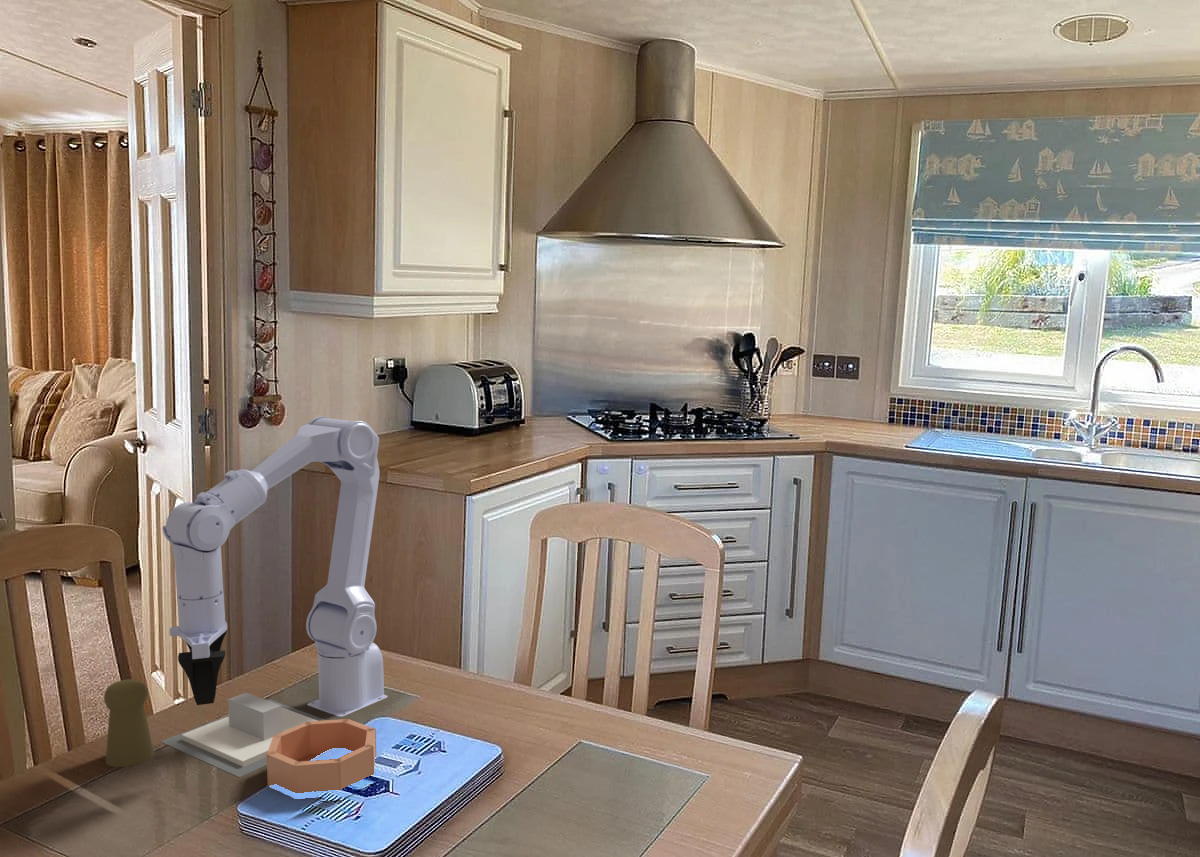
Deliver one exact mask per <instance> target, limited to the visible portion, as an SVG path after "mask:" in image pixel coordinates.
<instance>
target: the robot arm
mask: <svg viewBox="0 0 1200 857" xmlns="http://www.w3.org/2000/svg"><path fill="white" fill-rule="evenodd" d="M379 445H380V437H379V436H378V434H377V433H376V432H375V431H374V429H373V428H372V427H371V425H370V424H369V423H368V422H366V421H363V420H346V419H338V418H329V417H327V416H317V417H314V418H313V419H311V420H310V421H309V422H308V423H306V424H304V425H302V426H299V428H298V429H297V433H296V434H295V435H294V436H293V437H292V438H290V439H289V440H288V441H287V442H285V443H284V444H283V445H282V446H280V447H279V448H278V449H277V450H275V452H273V453H272V454H271V455H269V456H268V457H266V458H265V459H264V460H263V461H261V463H259V464H258V465H257V466H255V467H254V468H253V469H251V470H248V469H243V468H242V469H237V470H233V469H232V470H229V471H227V472H226V473H225V474H224V479H223V480H221V481H220V482H219V483H217V484H216V485H215V486H213V487H212V488H210V489H209V490H207V491H206V492H203V491H201V492H200V493H199V494H197V495H196V499H195V500H194V502H183V503H179V504H178V505H176V506H175V507H174V508H173V509H172V510H171V511H170V512H169V515H168V516H167V519H166V524H165V525H164V526H162V528H161V529H162V533H163V535H164V537H165V539H166V540H167V541H168V542H169V543H170V544H171V546H172V555H173V556H174V571H175V572H174V574H175V586H176V588H175V589H176V599H177V600H176V601H177V618H178V620H177V621H178V625H177V626H171V627H170V628H169V632H168V634H169V636H170V637H179V638H180V639H182V640H183V641H184V642H185V643H186V645H187V647H188V650H189V651H185V652H184V651H183V652H179V653H178V655H177V660H178V663H179V665H180V667H181V669H183V671H184V672H185V674H186V676H187V678H188V681H189V684H190V688H191V691H192V695H193V698H194V701H195V703H196V706H203V705H208V704H209V705H210V704H214V703H215V698H216V693H217V684H218V677H219V672H220V669H221V665H222V664H223V661H224V659H225V657H226V650H225V649H224V650H221V648H222V644H223V641H224V640H225V636H226V634H227V631H228V622H227V621H226V611H225V609H226V608H225V593H224V579H223V563H222V562H223V561H222V546H223V545H224V544H225V543H226V541H227V540H228V537H229V535H230V531H231V530H232V529H233V528H234V527H235V525H237V524H238V523H240V522H241V521H243V519H245V518H246V517H247V516H249V515H250V514H251V513H253V512H254V511H255V510H257V509H259V507H261V506H262V505H263V504H265V503H266V500H267V498H268V491H269V490H270V489H271V488H273V487H275V486H276V485H278V484H280V482H282V481H284V480H286V479H287V478H289V477H290V476H292V475H293V474H295V473H297V472H298V471H300V470H301V469H303V468H305V467H306V466H307V465H308V464H310V463H312V462H315V463H316V462H317V463H318V462H321V463H322V464H323V465H325V466H327V467H329V469H330V471H332V472H333V473H334V474H335V476H336V477H337V478H338V479H339V480H340V490H339V497H338V504H337V511H336V518H335V526H334V534H333V540H332V548H331V554H330V555H331V556H330V561H329V562H330V563H329V569H328V577H327V583H326V585H325V586H324V587H322V588H320V589H319V591H317V592H316V593H315V595H314V600H313V604H312V607H311V608H310V609H311V610H310V611H309V613H308V615H307V617H306V622H305V623H306V624H305V629H306V632H307V635H308V637H309V638H310V639H311V640H312V641H314V648H315V649H316V650H317V668H318V696H319V697H318V699H315V700H313V701H310V702H308V703H307V704H306V705H307V706H308V707H312V708H314V709H317V710H320V711H322V712H324V713H325V712H326V713H328V714H330V715H332V716H333V715H334V716H336V717H341V718H342V717H345V716H347V715H349V714H352V713H354V712H356V711H359V710H361V709H363V708H366V707H368V706H370V705H373V704H375V703H377V702H379V701H382V700H384V699H387V698H388V696H389V695H386V694H385V681H384V659H383V654H382V652H381V649H380V648H379V646H378V645H377V644H376V643H374V640H375V638H376V635H377V628H378V627H377V620H376V617H375V609H376V603H375V602H374V599H373V598H372V597H371V596H370V594H369V593H368V592H367V590H366V587H365V583H366V577H367V570H368V564H369V563H368V562H369V555H370V547H371V540H372V534H373V527H374V520H375V519H374V518H375V513H376V512H375V510H376V503H377V497H378V489H379V481H380V466H379V461H378V460H379V459H378V451H379Z"/></svg>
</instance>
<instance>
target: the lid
mask: <svg viewBox="0 0 1200 857" xmlns="http://www.w3.org/2000/svg"><path fill="white" fill-rule="evenodd" d="M268 700H269V699H268ZM268 700H267V699H266V698H265V699H264V698H262V697H259V696H257V695H254V694H251V693H249V692H244V693H241V694H239V695H235V696H233V697H230V698H227V705H228V706H227V708H228V715H229V716H228V715H227V716H228V717H226V718H223V717H222V718H223V719H221V720H218V721H215V720H214V721H215V722H213V723H210V722H209V723H210V724H208V725H205V724H204V725H205V726H202V725H201V726H202V727H200V728H197V727H196V728H197V729H195V730H192V729H191V730H192V731H189V730H188V731H189V732H187V733H184V732H183V733H184V734H182V740H183V741H185V742H188V743H190V744H192V745H194V746H197V747H199V748H201V749H203V750H206V751H208V752H210V753H213V754H215V755H217V756H219V757H222V758H224V759H226V760H228V761H231V762H233V763H235V764H237V765H240V766H242V767H245V766H247V765H249V764H251V763H254V762H256V761H258V760H261V759H263V758H265V757H267V756H266V754H267V753H268V750H269V747H270V744H271V741H272V738H273V735H276V734H279V733H281V732H284V731H286V730H288V729H291V728H293V727H295V726H298V725H300V724H302V723H305V722H307V721H308V722H309V721H317V720H315V719H312V718H309V717H306V716H304V715H301V714H298V713H296V712H293V711H290V710H288V709H285V708H282V707H281V705H279V704H276V703H273V702H270V701H268Z"/></svg>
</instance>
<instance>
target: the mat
mask: <svg viewBox="0 0 1200 857" xmlns="http://www.w3.org/2000/svg"><path fill="white" fill-rule="evenodd" d="M268 701H270V702H273V703H276V704H279V705H281V707H282V708H285V709H288V710H290V711H293V712H296V713H298V714H301V715H304V716H306V717H309V718H312V719H315V720H317V721H324V720H325V719H323V718H321V717H319V716H316V715H313V714H310V713H307V712H305V711H302V710H299V709H297V708H294V707H291V706H289V705H287V704H283V703H281V702H278V701H276V700H273V699H268ZM228 716H229V714H228V715H225V716H223V717H220V718H218V719H215V720H212V721H211V722H208V723H205V724H203V725H201V726H200V725H199V726H197V727H195V728H192V729H190V730H187V731H184V732H181V733H179V734H176V735H173V736H171V737H168V738H166V739H163V740H161V741H160V743H162V744H165V745H167V746H168V747H171V748H174V749H175V750H177V751H180V752H183V754H186V755H188V756H191V757H193V758H195V759H198V760H200V761H202V762H204V763H207V764H208V765H211V766H213V767H215V768H218V769H219V770H222V771H224V772H225V773H229V774H231V775H232V776H235V777H237V778H242V777H244V776H246V775H248V774H251V773H253V772H255V771H257V770H260V769H262V768H265V767H267V757H265V758H263V759H261V760H258V761H256V762H254V763H251V764H249V765H247V766H245V767H242V766H240V765H237V764H235V763H233V762H231V761H228V760H226V759H224V758H222V757H219V756H217V755H215V754H213V753H210V752H208V751H206V750H203V749H201V748H199V747H197V746H194V745H192V744H190V743H188V742H185V741H183V740H182V734H184V733H187V732H189V731H192V730H195V729H197V728H200V727H202V726H205V725H208V724H210V723H213V722H215V721H218V720H221V719H223V718H226V717H228Z"/></svg>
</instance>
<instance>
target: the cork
mask: <svg viewBox="0 0 1200 857" xmlns="http://www.w3.org/2000/svg"><path fill="white" fill-rule="evenodd" d="M103 697H104V703H105V705H106V708H107V709H108V710H109V716H108V728H107V740H106V741H107V742H106V752H105V764H106V765H107V766H110V767H112V768H113V767H114V768H128V767H133V766H137V765H140V764H142V763H146V762H147V761H149V760H150V759H151V758H152V757H153V756H154V754H155V751H154V747H153V741H152V738H151V734H150V728H149V723H148V719H147V714H146V710H145V705H144V704H146V701H147V698H148V688H147V686H146V684H145V683H144V681H142V680H138V679H131V678H130V679H122V680H118V681H115V682H114V683H112V684H110V685H108V686H107V689H105V691H104V695H103Z"/></svg>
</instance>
